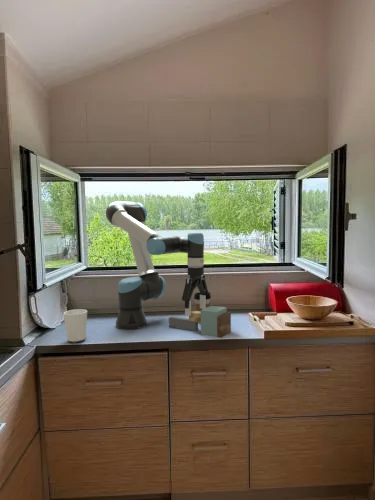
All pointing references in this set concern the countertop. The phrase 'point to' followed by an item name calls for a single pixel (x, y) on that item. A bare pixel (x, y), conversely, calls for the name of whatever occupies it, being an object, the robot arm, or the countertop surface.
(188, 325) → the rail
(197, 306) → the coffee cup
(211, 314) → the bore block
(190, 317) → the oak peg
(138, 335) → the countertop surface
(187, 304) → the robot arm
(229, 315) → the wall
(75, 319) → the cup
